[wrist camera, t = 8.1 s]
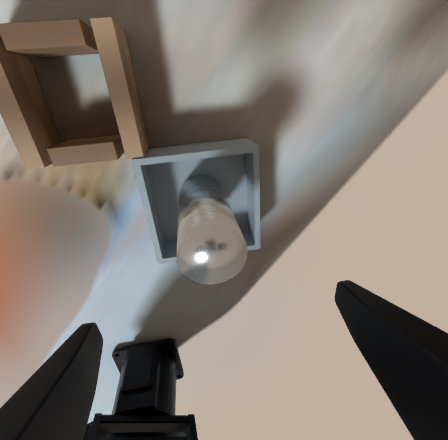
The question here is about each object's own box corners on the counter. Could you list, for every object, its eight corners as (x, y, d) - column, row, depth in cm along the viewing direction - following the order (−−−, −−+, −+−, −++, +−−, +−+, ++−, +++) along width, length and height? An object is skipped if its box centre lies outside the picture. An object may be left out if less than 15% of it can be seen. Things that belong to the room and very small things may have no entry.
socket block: (149, 146, 18) (143, 156, 15) (50, 157, 17) (26, 169, 14) (124, 30, 14) (111, 17, 12) (2, 38, 14) (-40, 26, 11)
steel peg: (225, 213, 20) (248, 278, 13) (182, 219, 20) (182, 289, 13) (222, 171, 19) (246, 220, 12) (175, 177, 18) (170, 231, 11)
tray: (251, 229, 22) (260, 248, 19) (161, 242, 21) (158, 263, 19) (248, 137, 18) (259, 145, 16) (139, 149, 18) (131, 159, 15)
